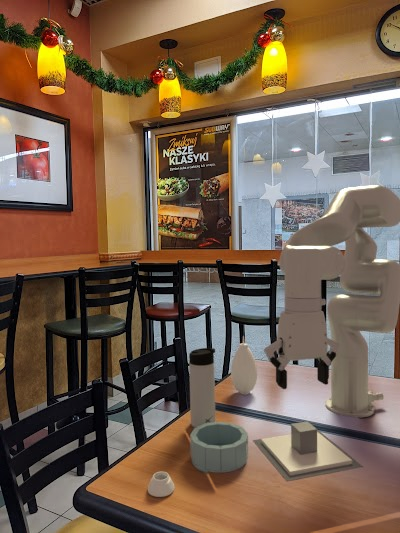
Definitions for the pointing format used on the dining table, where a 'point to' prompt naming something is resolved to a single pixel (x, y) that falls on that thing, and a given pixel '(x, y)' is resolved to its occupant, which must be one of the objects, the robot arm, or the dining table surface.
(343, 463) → the square lid
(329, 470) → the mat
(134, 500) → the dining table surface
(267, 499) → the dining table surface
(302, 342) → the robot arm
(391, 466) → the dining table surface
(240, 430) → the bowl
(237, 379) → the white pear-shaped vessel
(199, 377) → the travel mug
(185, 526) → the dining table surface
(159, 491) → the lidless jar
